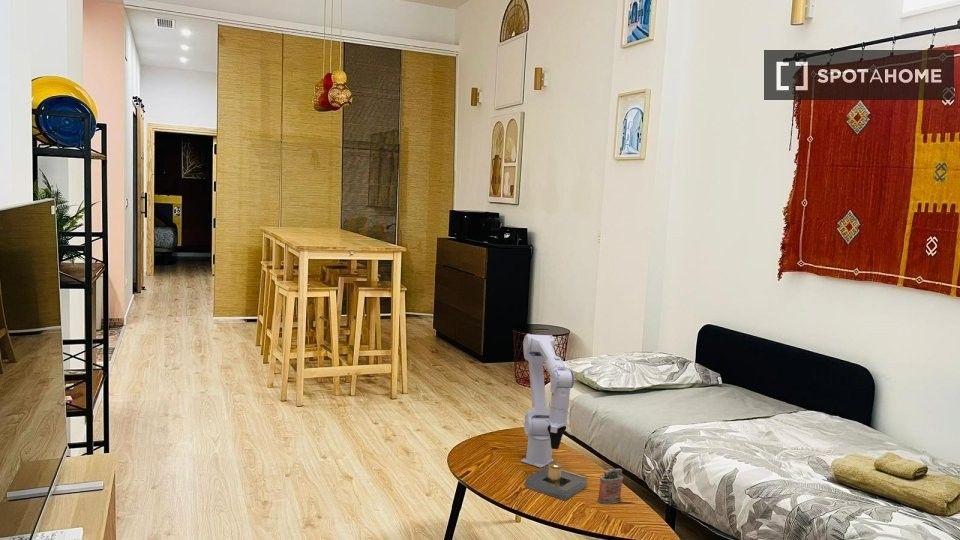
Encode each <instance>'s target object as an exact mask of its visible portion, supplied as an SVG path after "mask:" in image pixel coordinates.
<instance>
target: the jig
mask: <svg viewBox="0 0 960 540" xmlns="http://www.w3.org/2000/svg"><path fill="white" fill-rule="evenodd" d="M548 471H549V464H547V465H545V466H544V467H542V468H540V469H538V470H537V471H536V472H534V473H532V474H530V475H529V476H526V477H525V482H524V488H526V489H530V490H532V491H535V492H538V493H541V494H545V495H548V496H551V497H553V498H557V499H559V500H562V501H567V500H569V498H572V497H573V496H574V495H576V494H577V493H579V492H580V491H582V490H584V489H585V488H586V487H587V482H588V477H587V476H584V475H580V474H578V473H575V472H571V471H568V470H565V469H562V471H561V480H560V486H558V485H555V484H552V483H549V482H547V480H548Z"/></svg>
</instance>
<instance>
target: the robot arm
mask: <svg viewBox="0 0 960 540" xmlns="http://www.w3.org/2000/svg"><path fill="white" fill-rule="evenodd" d="M555 345H556V344H555V337H553V335H552V334H531V333H526V335H524V338H523V343H522V346H523V347H522V348H523V356H524V357H523V358H524V360H526V361H528V367H529V369H528V371H529V383H530V384H529V385H530V394H531V396H530V397H531V409H530V410H529V411H527V412H526V413H525V415H524V423H523V429H524V433H525V434H526V436H527V444H526V445H527V447H526V454H525V455H526V456H525V457H524V458H522V459H521V460H520V462H521V463H525V464H527V465H530V466H534V467H537V468H540V469H542V468H544V467H546V466H548V465H549V463H550V462H555V461H554V458H552V455H553V450H556V451H557V450H558V449H559V447H560V444H561V441H562V439H563V435H564V433H565V432H566V430H567V427H568V426H567V425H568V412H569V404H570V394H571V389H573V388H574V385H575V374H574V372H573V370H572V369H567V367H566V365H565V363H564V362H563V359H562V358H561V356H558V355H557V354H556V352H555ZM544 363H545V365H544ZM544 366H545V368H546V370H547V372H548V374H549V376H550V378H549V381H550V392H551V397H550V406H549V407H550V408H547V399H546V386H545V376H544V375H545V374H544V373H545V372H544Z"/></svg>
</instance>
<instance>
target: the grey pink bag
mask: <svg viewBox="0 0 960 540" xmlns="http://www.w3.org/2000/svg"><path fill="white" fill-rule="evenodd" d="M622 472H623V469H621V468H614V469H612V468H608V469H607V470H604V471H603V476H600V477H599V481H600V482H599V489H598V497H597V503H598V504H601V505H606V504H609V505H610V504H614V503H619V502H622V501H621V500H622V498H621V495H622V488H623V487H622V485H623V480H624V476H623V475H620V474H622Z"/></svg>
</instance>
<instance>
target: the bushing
mask: <svg viewBox="0 0 960 540" xmlns="http://www.w3.org/2000/svg"><path fill="white" fill-rule="evenodd" d="M548 465H549V471H548V480H547V482H549V483H552V484H555V485H558V486H560V480H561V471H562V470H563V467H564V465H563V464H562V463H560V462H557V461H552V462H550V463H549V464H548Z"/></svg>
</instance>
